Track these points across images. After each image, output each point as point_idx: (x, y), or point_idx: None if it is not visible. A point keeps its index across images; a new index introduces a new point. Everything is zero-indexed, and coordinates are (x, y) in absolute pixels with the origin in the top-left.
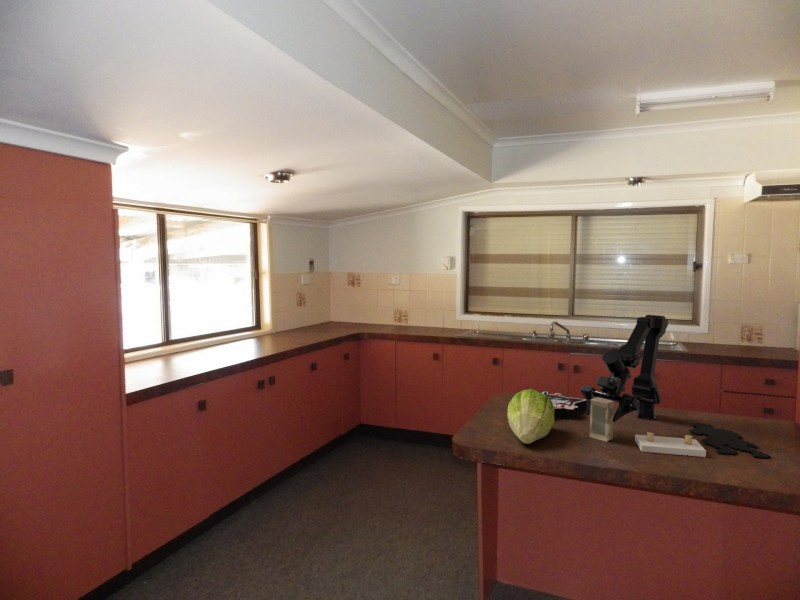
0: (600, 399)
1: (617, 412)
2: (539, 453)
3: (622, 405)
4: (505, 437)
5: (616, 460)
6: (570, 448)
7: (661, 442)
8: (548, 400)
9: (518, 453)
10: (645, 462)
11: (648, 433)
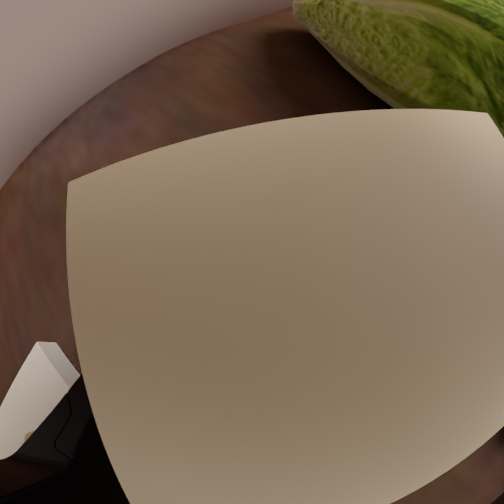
0: (483, 305)
1: (83, 383)
2: (251, 31)
3: (3, 463)
4: None
5: (68, 170)
6: (237, 99)
7: None
8: (490, 38)
9: (274, 12)
10: (11, 251)
11: None
